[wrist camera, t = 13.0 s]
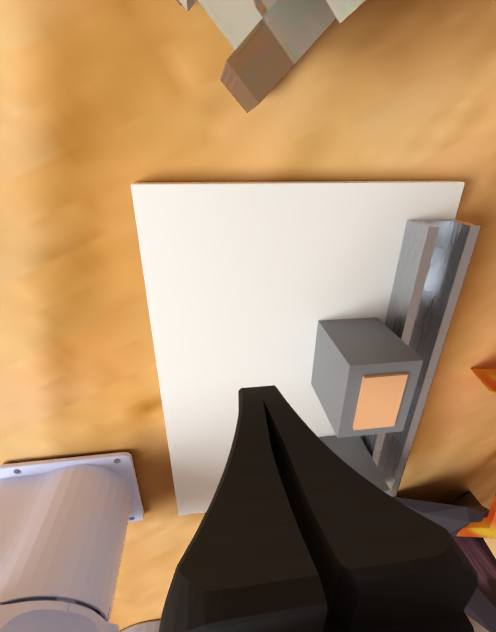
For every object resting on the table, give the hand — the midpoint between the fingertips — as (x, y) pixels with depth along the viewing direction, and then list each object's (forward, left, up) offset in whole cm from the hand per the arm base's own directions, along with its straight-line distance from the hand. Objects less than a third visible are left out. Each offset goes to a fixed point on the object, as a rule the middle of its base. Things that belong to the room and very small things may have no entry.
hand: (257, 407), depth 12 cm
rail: (+12, -6, -9) cm, 16 cm away
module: (+7, -4, -9) cm, 12 cm away
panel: (+4, -6, -10) cm, 12 cm away
